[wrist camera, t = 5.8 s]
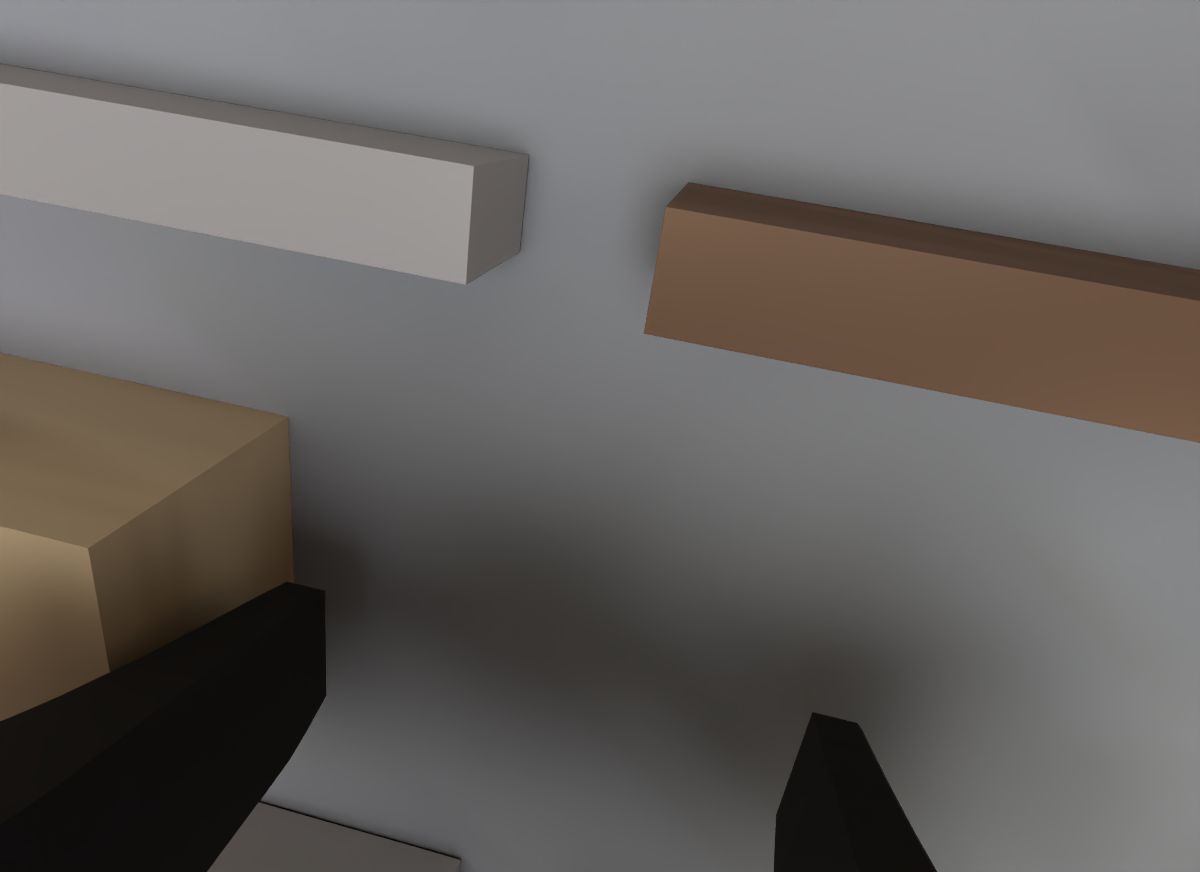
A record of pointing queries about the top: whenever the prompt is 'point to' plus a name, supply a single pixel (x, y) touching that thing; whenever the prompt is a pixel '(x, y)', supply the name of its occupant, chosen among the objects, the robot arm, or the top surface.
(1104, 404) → the brown u-shaped frame
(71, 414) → the oak block
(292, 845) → the grey corral
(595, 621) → the top surface
